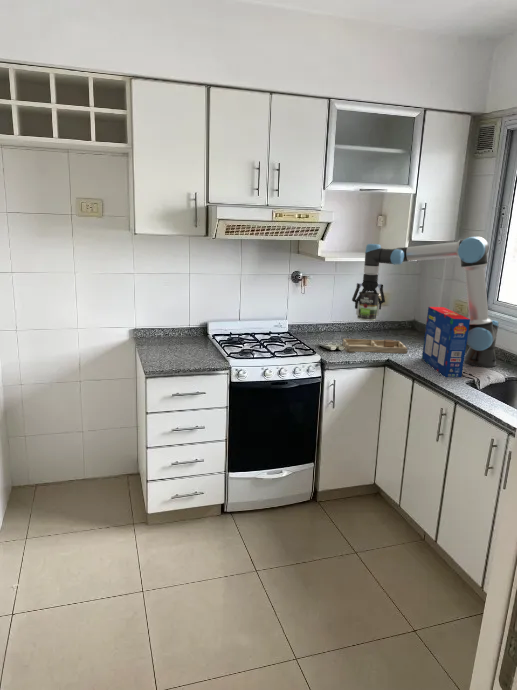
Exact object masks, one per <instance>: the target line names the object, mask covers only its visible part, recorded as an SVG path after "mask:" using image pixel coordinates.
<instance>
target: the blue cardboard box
mask: <svg viewBox="0 0 517 690" xmlns="http://www.w3.org/2000/svg"><path fill="white" fill-rule="evenodd" d="M427 308H428V310H427V317H426V324H425V332H424V340H423V348H422V354H421V355H422V356H421V359H422V361H423V360H424V361H425V362H426V363H425V362H424V361H423V362H424V363H425V364H427V365H428V364H429V365H430V366H429V365H428V366H429V367H431V368H432V367H433V368H434V369H433V368H432V369H433V370H435V371H436V370H437V371H438V372H437V371H436V372H437V373H438V374H440V373H441V374H442V375H441V374H440V375H441V376H443V377H444V376H445V377H444V378H462V376H463V369H464V363H465V361H464V358H465V355H466V349H467V345H468V344H467V337H468V331H469V324H470V319H469V317H466V316H464V315H462V314H459V313H457V312H455V311H453V310H451V309H448V308H447V307H443V306H428V307H427Z"/></svg>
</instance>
